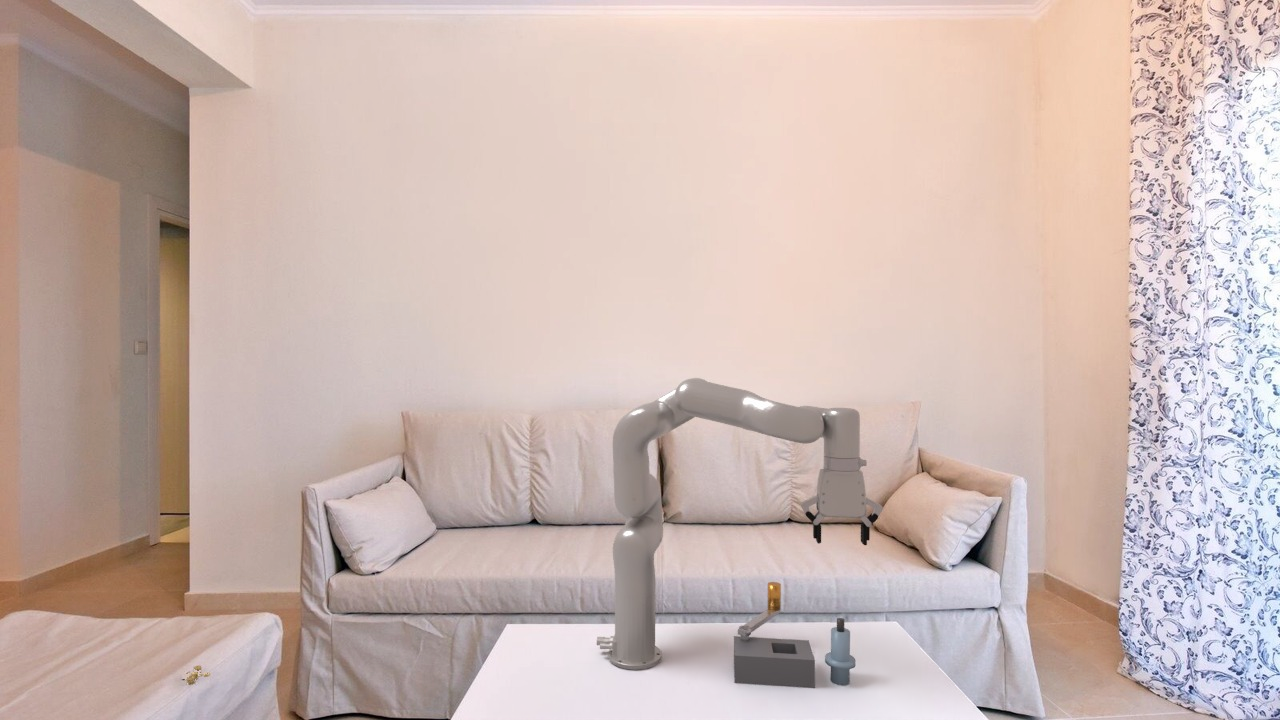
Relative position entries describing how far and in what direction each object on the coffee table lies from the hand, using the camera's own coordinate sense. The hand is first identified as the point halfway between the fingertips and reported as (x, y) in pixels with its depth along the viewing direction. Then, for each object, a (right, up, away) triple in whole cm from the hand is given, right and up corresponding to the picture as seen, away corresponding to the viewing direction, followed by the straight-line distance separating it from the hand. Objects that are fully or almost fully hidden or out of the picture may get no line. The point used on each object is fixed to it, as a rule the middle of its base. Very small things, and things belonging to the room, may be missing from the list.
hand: (841, 542), depth 144 cm
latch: (-15, -23, +13) cm, 30 cm away
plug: (0, -30, 0) cm, 30 cm away
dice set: (-142, -31, 0) cm, 145 cm away
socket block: (-14, -30, +3) cm, 34 cm away
